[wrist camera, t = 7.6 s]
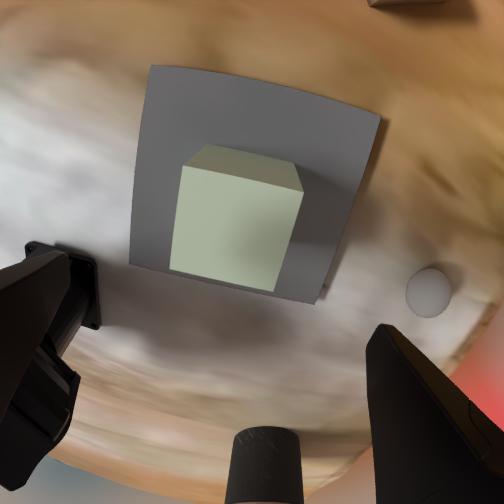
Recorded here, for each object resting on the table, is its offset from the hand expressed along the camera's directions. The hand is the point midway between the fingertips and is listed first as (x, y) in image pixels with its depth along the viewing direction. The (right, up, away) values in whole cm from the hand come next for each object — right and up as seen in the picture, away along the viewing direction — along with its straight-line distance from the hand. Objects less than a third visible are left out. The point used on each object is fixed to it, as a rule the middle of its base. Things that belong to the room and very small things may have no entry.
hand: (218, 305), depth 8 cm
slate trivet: (0, +5, +9) cm, 10 cm away
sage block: (0, +4, +9) cm, 10 cm away
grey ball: (+12, -1, +10) cm, 16 cm away
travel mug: (+2, -19, +22) cm, 29 cm away
